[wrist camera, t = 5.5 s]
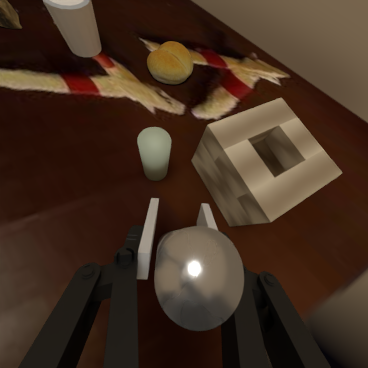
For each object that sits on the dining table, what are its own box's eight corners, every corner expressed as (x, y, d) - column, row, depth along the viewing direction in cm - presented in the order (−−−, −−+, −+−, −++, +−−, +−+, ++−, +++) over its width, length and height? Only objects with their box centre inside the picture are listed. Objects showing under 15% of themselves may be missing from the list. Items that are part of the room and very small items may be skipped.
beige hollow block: (191, 161, 26) (207, 124, 17) (245, 137, 29) (281, 97, 20) (229, 226, 23) (270, 222, 15) (283, 192, 26) (342, 173, 18)
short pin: (140, 164, 24) (132, 133, 16) (161, 156, 25) (162, 123, 17) (150, 184, 23) (146, 160, 16) (171, 175, 24) (176, 148, 17)
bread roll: (140, 71, 30) (137, 48, 27) (167, 51, 33) (168, 27, 30) (173, 94, 30) (175, 74, 26) (198, 71, 33) (203, 50, 29)
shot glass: (62, 37, 30) (34, -20, 23) (99, 33, 31) (83, -20, 25) (71, 62, 28) (44, 9, 21) (109, 56, 30) (95, 7, 23)
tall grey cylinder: (152, 240, 21) (138, 254, 6) (176, 227, 22) (214, 211, 7) (164, 265, 20) (183, 356, 5) (188, 250, 21) (260, 291, 6)
